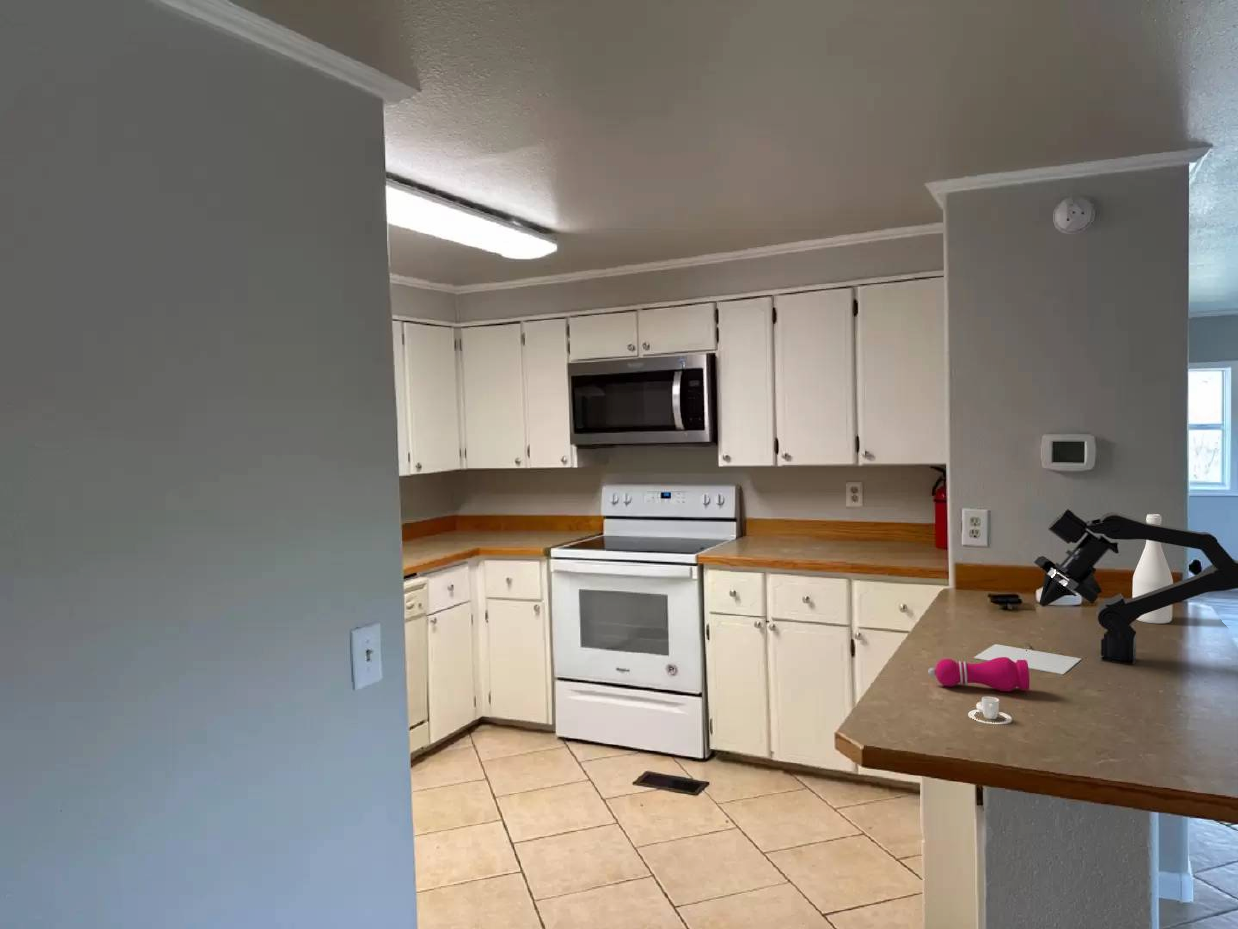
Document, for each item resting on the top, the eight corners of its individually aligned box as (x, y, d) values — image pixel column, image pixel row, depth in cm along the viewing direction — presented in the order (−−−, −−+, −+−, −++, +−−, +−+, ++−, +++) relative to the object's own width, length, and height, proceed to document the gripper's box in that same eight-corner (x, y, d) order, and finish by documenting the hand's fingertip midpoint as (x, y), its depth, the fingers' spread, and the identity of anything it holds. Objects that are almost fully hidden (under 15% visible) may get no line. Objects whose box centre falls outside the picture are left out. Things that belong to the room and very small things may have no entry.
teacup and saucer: (976, 708, 172) (976, 688, 171) (1018, 716, 166) (1018, 696, 166) (962, 720, 165) (962, 700, 165) (1005, 730, 160) (1005, 709, 160)
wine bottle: (1124, 618, 238) (1126, 514, 236) (1145, 614, 242) (1147, 511, 240) (1158, 626, 229) (1160, 517, 227) (1179, 621, 233) (1182, 515, 231)
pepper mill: (1030, 679, 174) (928, 676, 180) (1029, 699, 178) (929, 695, 185) (1026, 650, 179) (926, 648, 186) (1024, 670, 183) (927, 667, 190)
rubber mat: (1081, 659, 201) (1081, 658, 201) (1063, 674, 190) (1063, 673, 190) (995, 644, 215) (995, 644, 214) (973, 658, 204) (973, 657, 204)
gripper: (1133, 589, 194) (1086, 640, 196) (1085, 560, 212) (1044, 607, 214) (1099, 563, 192) (1053, 615, 194) (1054, 536, 210) (1013, 583, 212)
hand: (1041, 605), depth 204 cm, fingers closed
